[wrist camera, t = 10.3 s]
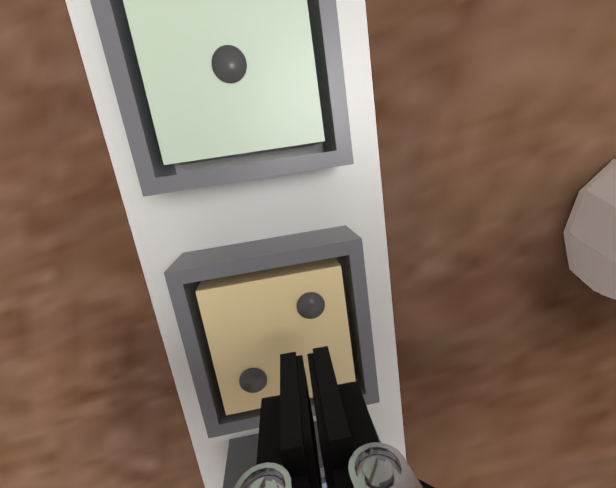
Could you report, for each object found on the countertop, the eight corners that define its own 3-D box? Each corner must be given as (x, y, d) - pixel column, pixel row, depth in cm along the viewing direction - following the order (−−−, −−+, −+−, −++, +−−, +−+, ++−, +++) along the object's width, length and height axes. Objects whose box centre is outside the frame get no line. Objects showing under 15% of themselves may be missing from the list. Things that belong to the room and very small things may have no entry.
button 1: (295, -9, 14) (301, -47, 11) (315, 144, 15) (325, 141, 13) (144, 8, 13) (115, -28, 11) (181, 164, 15) (163, 165, 12)
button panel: (353, -52, 15) (382, -128, 11) (405, 503, 23) (433, 573, 19) (69, -22, 14) (-7, -93, 10) (228, 545, 22) (220, 627, 18)
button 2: (330, 250, 16) (341, 266, 14) (344, 357, 18) (357, 389, 15) (206, 271, 16) (194, 292, 13) (231, 380, 17) (225, 416, 15)
